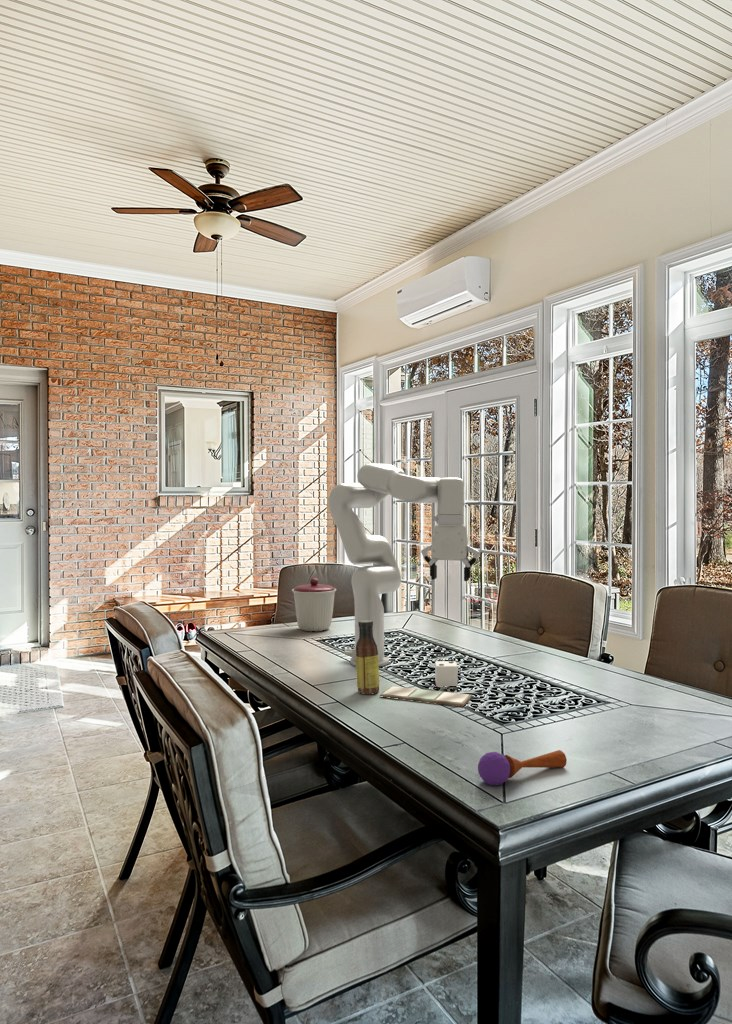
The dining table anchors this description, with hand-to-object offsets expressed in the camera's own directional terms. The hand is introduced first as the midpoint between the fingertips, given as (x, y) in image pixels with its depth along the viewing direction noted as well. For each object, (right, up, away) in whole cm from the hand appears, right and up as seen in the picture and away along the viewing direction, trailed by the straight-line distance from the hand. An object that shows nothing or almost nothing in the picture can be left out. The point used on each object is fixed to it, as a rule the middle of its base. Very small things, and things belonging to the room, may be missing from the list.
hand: (450, 579), depth 200 cm
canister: (-45, -29, +83) cm, 99 cm away
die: (-1, -30, 0) cm, 30 cm away
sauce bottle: (-24, -31, -8) cm, 40 cm away
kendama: (+6, -32, -65) cm, 73 cm away
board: (-8, -30, -13) cm, 34 cm away
